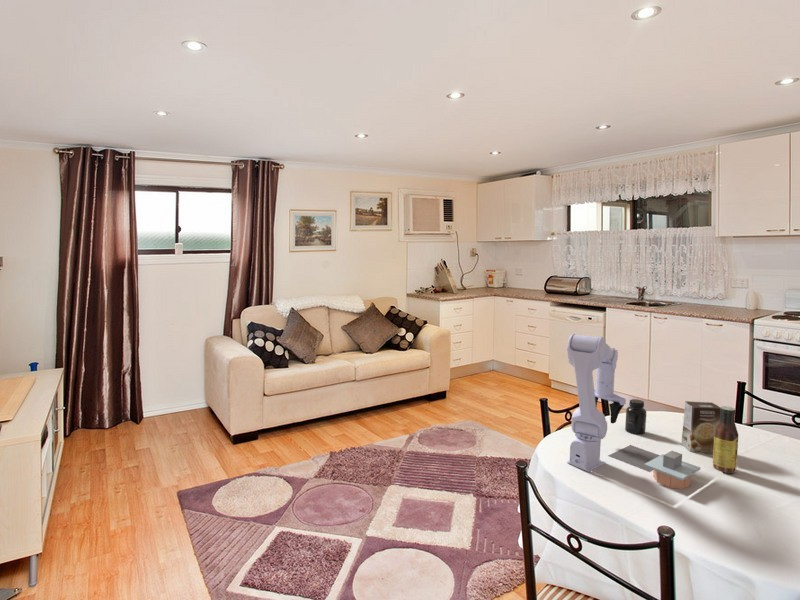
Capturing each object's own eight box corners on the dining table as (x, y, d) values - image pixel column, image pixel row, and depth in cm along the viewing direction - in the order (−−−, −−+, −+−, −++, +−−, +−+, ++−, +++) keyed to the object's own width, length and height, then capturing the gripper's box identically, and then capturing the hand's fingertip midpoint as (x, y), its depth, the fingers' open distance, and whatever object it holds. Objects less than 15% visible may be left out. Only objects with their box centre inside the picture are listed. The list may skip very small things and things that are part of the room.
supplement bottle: (648, 436, 181) (650, 404, 179) (629, 435, 181) (631, 404, 180) (640, 428, 188) (641, 398, 186) (621, 428, 188) (623, 398, 186)
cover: (682, 480, 140) (683, 466, 139) (644, 465, 149) (645, 452, 148) (700, 469, 146) (701, 456, 146) (662, 456, 155) (663, 443, 154)
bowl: (679, 492, 142) (680, 478, 141) (648, 480, 149) (649, 466, 148) (694, 483, 147) (695, 469, 146) (663, 471, 154) (664, 458, 154)
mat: (649, 473, 153) (649, 471, 153) (607, 457, 164) (607, 455, 164) (671, 461, 161) (671, 459, 161) (630, 446, 173) (630, 444, 173)
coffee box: (689, 453, 167) (693, 407, 165) (680, 445, 173) (684, 401, 171) (718, 454, 166) (722, 408, 164) (708, 446, 172) (712, 401, 170)
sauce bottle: (739, 475, 152) (745, 413, 149) (717, 473, 153) (722, 411, 150) (730, 465, 158) (735, 405, 155) (708, 463, 159) (713, 404, 157)
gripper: (631, 384, 167) (629, 422, 169) (592, 374, 179) (591, 410, 181) (620, 388, 163) (617, 427, 165) (581, 378, 175) (579, 415, 177)
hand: (603, 419), depth 172 cm, fingers open, 7 cm apart
